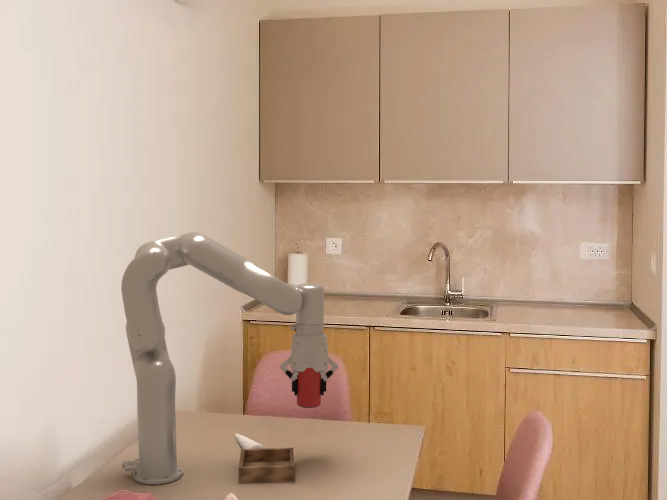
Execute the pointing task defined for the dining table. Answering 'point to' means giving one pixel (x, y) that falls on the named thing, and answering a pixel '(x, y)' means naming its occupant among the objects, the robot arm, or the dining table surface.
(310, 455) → the dining table surface
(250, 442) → the unicorn horn
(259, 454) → the crate
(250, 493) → the dining table surface
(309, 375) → the beer can
